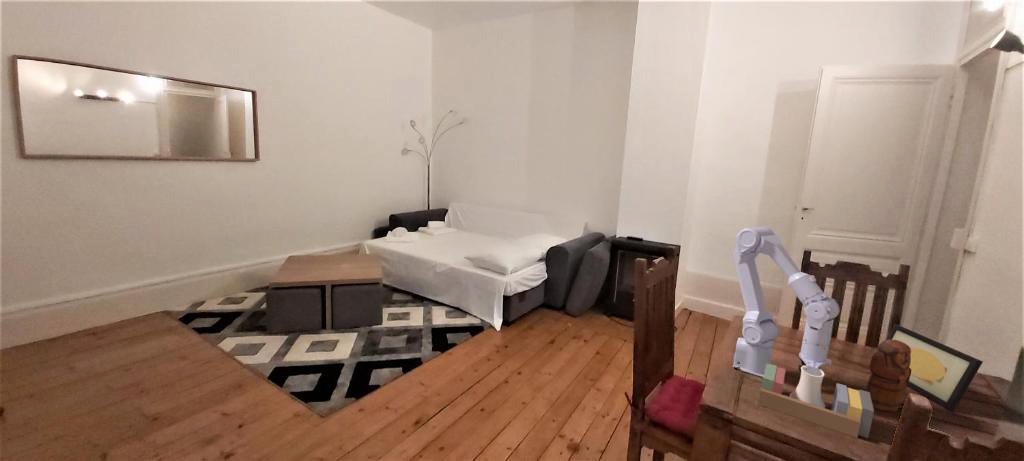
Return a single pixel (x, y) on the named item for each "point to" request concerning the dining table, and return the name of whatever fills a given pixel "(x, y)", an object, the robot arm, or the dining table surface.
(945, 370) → the picture frame
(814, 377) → the vase
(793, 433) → the dining table surface
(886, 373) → the wooden figurine
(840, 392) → the book row
